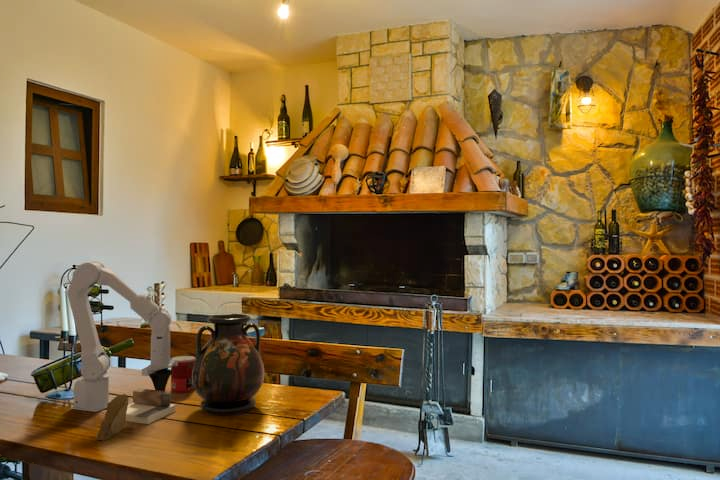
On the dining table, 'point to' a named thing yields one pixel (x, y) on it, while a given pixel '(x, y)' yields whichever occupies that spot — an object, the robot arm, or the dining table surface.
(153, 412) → the stool seat
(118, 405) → the rock
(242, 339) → the amphora vase
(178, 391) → the canned food
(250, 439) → the dining table surface
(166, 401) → the stool leg
